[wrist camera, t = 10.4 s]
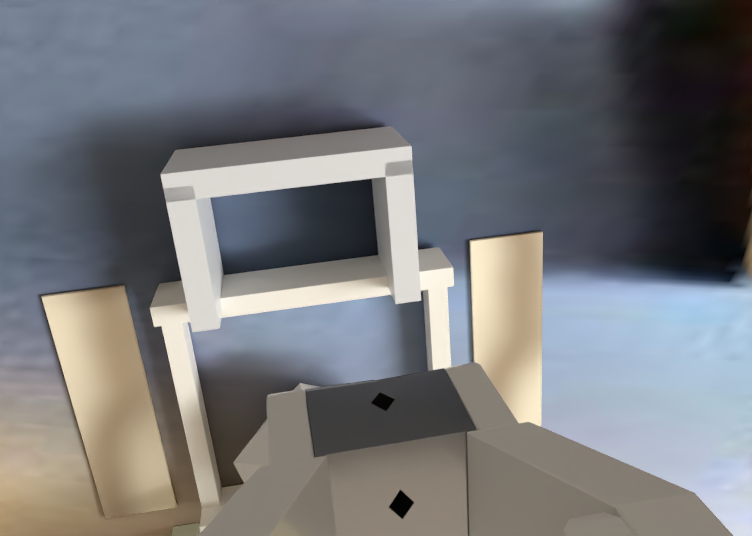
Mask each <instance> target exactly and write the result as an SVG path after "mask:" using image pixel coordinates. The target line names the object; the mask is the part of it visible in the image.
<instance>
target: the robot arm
mask: <svg viewBox="0 0 752 536" xmlns="http://www.w3.org/2000/svg"><path fill="white" fill-rule="evenodd" d="M305 396H306V399H305ZM266 404H267V425H268V445H269V465H267V466H262V467H259V468H258V469H257V470H256V471H255V472H254V473H253V474H252V475H251V476H250V478H249V479H248V480H247V481H246V482H245V483H244V484H243V485H242V487H241V488H240V489H239V490H238V491H237V492H236V493H235V494H234V496H233V497H232V498H231V499H230V500H229V501H228V502H227V504H226V505H225V506H224V507H223V508H222V509H221V510H220V511H219V513H218V514H217V515H216V516H215V517H214V518H213V519H212V520H211V522H210V523H209V524H208V525H207V526H206V527H205V528H204V529H203V531H202V532H201V533H200V534H199V535H198V536H733V535H732V534H731V533H730V532H729V530H728V529H727V528H726V527H725V526H724V525H723V524H722V523H721V522H720V521H719V519H718V518H717V517H716V516H715V515H714V514H713V513H712V512H711V511H710V510H709V508H708V507H707V506H706V505H705V504H704V503H703V502H702V501H701V500H700V498H699V497H698V496H697V495H696V494H695V493H693V492H691V491H689V490H686V489H684V488H682V487H679V486H677V485H675V484H672V483H670V482H668V481H665V480H663V479H661V478H658V477H656V476H654V475H651V474H649V473H647V472H644V471H642V470H640V469H638V468H635V467H633V466H631V465H628V464H626V463H624V462H621V461H619V460H617V459H614V458H612V457H610V456H607V455H605V454H603V453H600V452H598V451H596V450H593V449H591V448H589V447H586V446H584V445H582V444H579V443H577V442H575V441H572V440H570V439H568V438H565V437H563V436H561V435H559V434H556V433H554V432H552V431H549V430H547V429H545V428H542V427H540V426H538V425H535V424H533V423H531V422H525V423H518V421H517V420H516V418H515V417H514V415H513V414H512V412H511V411H510V409H509V408H508V406H507V404H506V403H505V401H504V400H503V398H502V397H501V395H500V394H499V392H498V391H497V389H496V388H495V386H494V385H493V383H492V382H491V380H490V379H489V377H488V376H487V374H486V372H485V371H484V369H483V368H482V366H481V365H480V364H478V363H476V362H473V363H468V364H463V365H458V366H453V367H448V368H442V369H437V370H431V371H425V372H420V373H414V374H409V375H403V376H397V377H392V378H386V379H381V380H369V381H362V382H354V383H347V384H339V385H332V386H324V387H317V388H309V389H305V393H304V391H303V390H302V389H299V390H293V391H287V392H281V393H275V394H269V395H268V396H267V399H266Z"/></svg>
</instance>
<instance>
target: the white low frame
mask: <svg viewBox="0 0 752 536" xmlns="http://www.w3.org/2000/svg"><path fill="white" fill-rule="evenodd" d="M160 175H161V180H162V185H163V190H164V195H165V200H166V205H167V209H168V214H169V219H170V224H171V229H172V234H173V239H174V244H175V249H176V254H177V259H178V264H179V268H180V273H181V278H182V281H175V282H167V283H159V285H158V288H157V290H156V293H155V295H154V298H153V301H152V303H151V306H150V311H151V316H152V320H153V324H154V327H158V326H162V331H163V335H164V340H165V344H166V349H167V353H168V358H169V362H170V367H171V371H172V376H173V381H174V385H175V390H176V394H177V399H178V403H179V408H180V412H181V417H182V421H183V426H184V430H185V435H186V439H187V444H188V448H189V453H190V457H191V462H192V466H193V471H194V475H195V480H196V484H197V489H198V493H199V498H200V502H201V507H202V510H201V518H200V526H199V528H200V532H202V531H203V529H204V528H205V527H206V526H207V525H208V524H209V523H210V522H211V520H212V519H213V518H214V517H215V516H216V515H217V514H218V513H219V511H220V510H221V509H222V508H223V507H224V506H225V505H226V504H227V502H228V501H229V500H230V499H231V498H232V497H233V496H234V494H235V493H236V492H237V491H238V490H239V489H240V488H241V487H242V485H243V484H241V485H234V486H228V487H221V482H220V478H219V473H218V468H217V463H216V458H215V453H214V448H213V443H212V439H211V434H210V429H209V424H208V419H207V414H206V409H205V404H204V400H203V395H202V390H201V385H200V380H199V375H198V370H197V365H196V361H195V356H194V351H193V346H192V341H191V336H190V331H189V326H188V322H190V323H191V327H192V332H198V331H205V330H212V329H219V328H220V323H221V318H224V317H231V316H239V315H246V314H253V313H261V312H268V311H275V310H283V309H290V308H297V307H305V306H312V305H319V304H327V303H334V302H341V301H349V300H356V299H363V298H371V297H378V296H385V295H392V297H393V299H394V302H395V304H400V303H408V302H415V301H421V291H422V290H423V300H424V316H425V332H426V348H427V364H428V371H431V370H437V369H442V368H448V367H451V356H450V336H449V315H448V294H447V287H451V286H454V276H453V266H452V265H451V264H450V262H449V261H448V259H447V258H446V257H445V255H444V254H443V252H442V251H441V249H440V248H439V247H436V248H428V249H421V250H418V243H417V227H416V211H415V195H414V180H413V164H412V148H411V145H410V144H409V143H408V142H407V141H406V140H405V139H404V138H403V137H402V136H401V135H400V134H399V133H398V132H397V131H396V130H395V129H394V128H393V127H392V126H389V127H380V128H370V129H361V130H352V131H343V132H334V133H325V134H316V135H307V136H298V137H289V138H280V139H270V140H261V141H252V142H243V143H234V144H225V145H216V146H207V147H198V148H189V149H180V150H175V151H174V153H173V155H172V156H171V158H170V160H169V161H168V163H167V164H166V166H165V168H164V169H163V171H162V173H161V174H160ZM363 179H372V188H373V200H374V211H375V223H376V235H377V246H378V255H375V256H367V257H359V258H351V259H344V260H336V261H328V262H321V263H313V264H305V265H298V266H290V267H282V268H275V269H267V270H259V271H251V272H244V273H236V274H228V275H224V273H223V267H222V261H221V256H220V250H219V245H218V239H217V233H216V228H215V222H214V217H213V211H212V205H211V200H210V198H211V197H219V196H228V195H236V194H245V193H253V192H262V191H270V190H279V189H287V188H295V187H304V186H312V185H321V184H329V183H338V182H346V181H355V180H363Z"/></svg>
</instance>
